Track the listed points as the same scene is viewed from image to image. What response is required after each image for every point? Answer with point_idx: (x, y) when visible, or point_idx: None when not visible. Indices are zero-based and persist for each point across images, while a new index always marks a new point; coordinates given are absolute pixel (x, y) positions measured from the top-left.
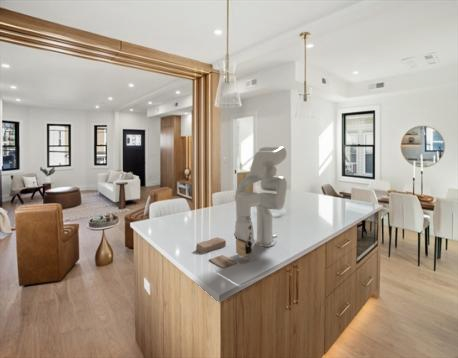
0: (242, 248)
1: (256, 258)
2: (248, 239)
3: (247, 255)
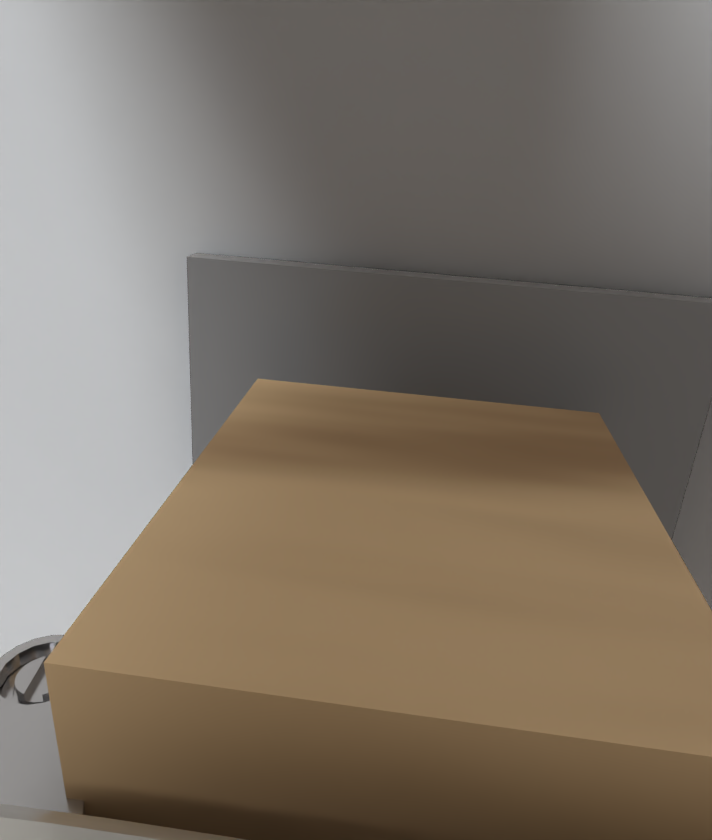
0: None
1: (698, 340)
2: (484, 761)
3: (396, 357)
